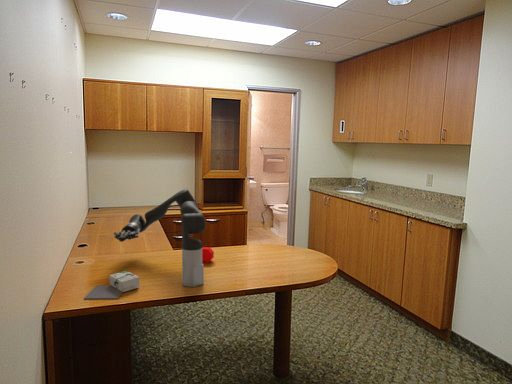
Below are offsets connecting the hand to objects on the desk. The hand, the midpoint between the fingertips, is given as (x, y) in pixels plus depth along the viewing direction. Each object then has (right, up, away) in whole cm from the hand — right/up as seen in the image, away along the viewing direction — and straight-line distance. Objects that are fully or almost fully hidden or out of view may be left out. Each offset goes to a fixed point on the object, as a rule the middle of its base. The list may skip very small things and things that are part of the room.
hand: (121, 239), depth 181 cm
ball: (+38, -15, +24) cm, 48 cm away
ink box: (+2, -16, -10) cm, 19 cm away
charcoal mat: (+1, -21, -20) cm, 28 cm away
